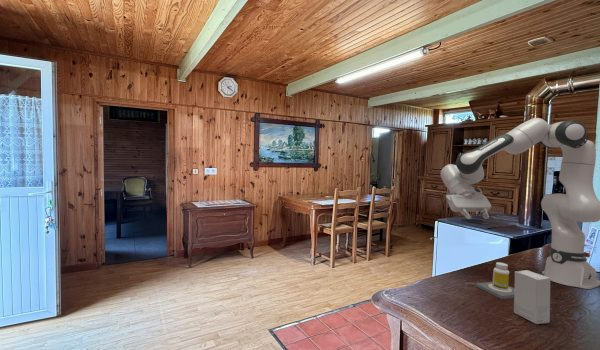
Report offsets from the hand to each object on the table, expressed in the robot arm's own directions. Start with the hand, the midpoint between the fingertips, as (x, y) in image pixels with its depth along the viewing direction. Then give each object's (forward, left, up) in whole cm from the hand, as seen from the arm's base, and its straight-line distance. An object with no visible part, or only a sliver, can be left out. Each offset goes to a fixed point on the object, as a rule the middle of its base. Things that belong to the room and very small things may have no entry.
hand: (478, 218), depth 133 cm
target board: (0, +12, -27) cm, 30 cm away
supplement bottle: (0, +12, -26) cm, 29 cm away
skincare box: (+9, +31, -28) cm, 43 cm away
